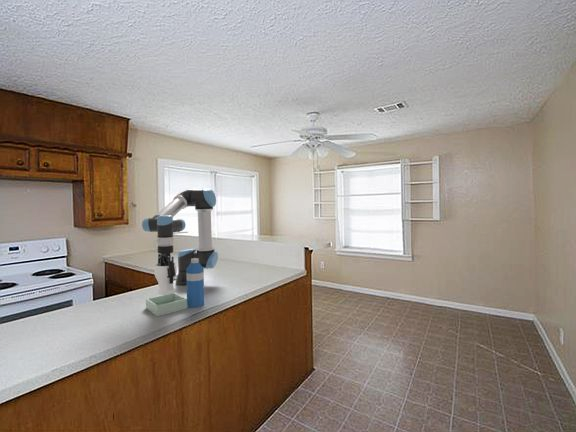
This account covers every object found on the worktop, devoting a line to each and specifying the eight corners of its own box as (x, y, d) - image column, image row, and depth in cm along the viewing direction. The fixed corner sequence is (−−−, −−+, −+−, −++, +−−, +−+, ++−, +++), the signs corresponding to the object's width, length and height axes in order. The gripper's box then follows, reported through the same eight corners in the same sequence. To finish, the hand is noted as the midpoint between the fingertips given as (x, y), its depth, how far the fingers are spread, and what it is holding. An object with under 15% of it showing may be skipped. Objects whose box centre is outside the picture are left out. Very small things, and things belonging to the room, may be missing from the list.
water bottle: (199, 300, 164) (198, 256, 163) (207, 304, 157) (207, 258, 156) (183, 304, 157) (182, 258, 156) (191, 308, 150) (190, 261, 149)
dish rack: (174, 301, 162) (174, 292, 162) (187, 308, 151) (186, 298, 151) (146, 308, 151) (145, 298, 151) (157, 316, 140) (157, 306, 140)
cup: (166, 297, 144) (166, 267, 143) (150, 294, 147) (149, 265, 147) (181, 291, 154) (180, 263, 153) (165, 289, 157) (164, 261, 157)
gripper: (149, 243, 155) (150, 284, 156) (167, 248, 139) (167, 293, 140) (163, 242, 161) (164, 281, 161) (182, 246, 144) (182, 290, 145)
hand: (166, 287), depth 151 cm, fingers closed on cup, 10 cm apart
